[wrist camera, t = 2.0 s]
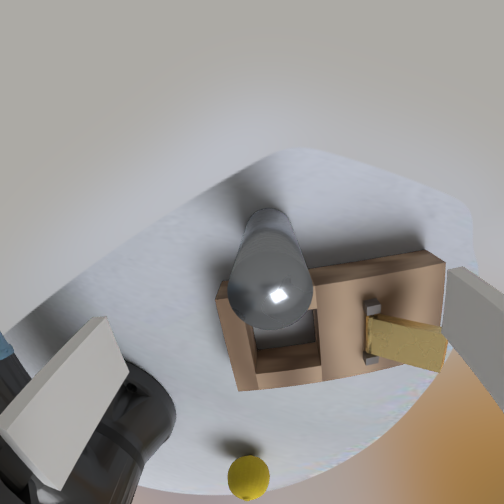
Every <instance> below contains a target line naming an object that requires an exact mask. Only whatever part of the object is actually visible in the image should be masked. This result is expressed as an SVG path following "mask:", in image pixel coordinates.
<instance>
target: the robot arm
mask: <svg viewBox="0 0 504 504" xmlns="http://www.w3.org/2000/svg"><path fill="white" fill-rule="evenodd" d="M441 333H442V334H443V335H444V337H445V338H446V339H447V340H448V341H449V343H450V344H451V345H452V346H453V347H454V349H455V350H456V351H457V352H458V353H459V355H460V356H461V357H462V358H463V360H464V361H465V362H466V363H467V365H468V366H469V367H470V368H471V370H472V371H473V372H474V373H475V375H476V376H477V377H478V379H479V380H480V381H481V383H482V384H483V385H484V387H485V388H486V389H487V391H488V392H489V393H490V395H491V396H492V397H493V399H494V400H495V401H496V403H497V404H498V406H499V407H500V408H501V410H502V411H503V413H504V294H503V293H501V292H499V291H498V290H497V289H495V288H494V287H493V286H491V285H490V284H488V283H487V282H485V281H484V280H483V279H481V278H480V277H478V276H477V275H475V274H474V273H472V272H471V271H469V270H468V269H466V268H465V267H458V268H453V269H449V270H448V272H447V286H446V297H445V306H444V315H443V322H442V329H441ZM175 421H176V410H175V407H174V404H173V402H172V400H171V398H170V396H169V395H168V394H167V392H166V391H165V390H164V389H163V387H162V386H161V385H160V384H159V383H158V382H157V381H156V380H155V379H153V378H152V377H151V376H150V375H148V374H147V373H146V372H144V371H143V370H141V369H140V368H138V367H136V366H134V365H132V364H130V363H128V362H126V361H124V358H123V356H122V354H121V351H120V349H119V347H118V344H117V342H116V339H115V337H114V334H113V332H112V329H111V327H110V324H109V321H108V319H107V316H105V317H92V318H91V319H90V320H89V321H88V322H87V323H86V324H85V325H84V326H83V327H82V328H81V329H80V330H79V331H78V332H77V333H76V334H75V335H74V336H73V337H72V338H71V339H70V340H69V341H68V342H67V343H66V344H65V345H64V346H63V347H62V348H61V349H60V350H59V351H58V352H57V353H56V354H55V355H54V356H53V357H52V358H51V359H50V360H49V361H48V363H47V364H46V365H45V366H44V367H43V368H42V369H41V370H40V371H39V372H38V373H37V374H36V375H35V376H34V377H33V379H31V377H30V376H29V374H28V373H27V372H26V370H25V369H24V367H23V366H22V364H21V363H20V361H19V360H18V358H17V357H16V355H15V353H14V349H13V347H12V346H11V345H10V344H8V343H7V341H6V340H5V338H4V336H3V335H2V333H1V332H0V504H131V503H132V500H133V497H134V494H135V491H136V488H137V485H138V482H139V479H140V476H141V474H142V471H143V468H144V465H145V463H146V462H147V461H148V460H149V459H150V458H151V456H152V455H153V454H154V453H155V452H156V451H157V450H158V449H159V447H160V446H161V445H162V444H163V443H164V442H165V441H166V440H167V439H168V438H169V437H170V435H171V433H172V430H173V427H174V424H175Z"/></svg>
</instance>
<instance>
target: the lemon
mask: <svg viewBox="0 0 504 504" xmlns="http://www.w3.org/2000/svg"><path fill="white" fill-rule="evenodd" d="M269 479H270V475H269V469H268V467H267V465H266V464H265V462H264V461H263V460H261V459H260V458H258V457H255V456H252V455H248V456H243V457H240V458H238V459H236V460H235V461H234V462H233V463H232V464H231V466H230V468H229V471H228V485H229V488H230V490H231V492H232V493H233V494H234V495H235V496H236V497H238V498H240V499H243V500H245V501H250V500H253V499H256V498H258V497H260V496H261V495H263V494H264V492H265V491H266V489H267V487H268V484H269Z"/></svg>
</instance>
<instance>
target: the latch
mask: <svg viewBox="0 0 504 504" xmlns="http://www.w3.org/2000/svg"><path fill="white" fill-rule="evenodd" d="M441 329H442V327H439V326H434V325H430V324H425V323H420V322H415V321H411V320H406V319H401V318H397V317H392V316H388V315H383V314H374V315H369V316H367V315H366V349H365V351H366V352H367V353H371V354H373V355H376V356H380V357H383V358H387V359H390V360H394V361H397V362H401V363H404V364H408V365H412V366H415V367H419V368H423V369H427V370H430V371H434V372H438V373H440V371H441V369H442V367H443V365H444V360H445V355H446V350H447V345H448V340H447V339H446V338H445V337H444V335H443V334H442V333H441Z"/></svg>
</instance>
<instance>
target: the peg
mask: <svg viewBox="0 0 504 504" xmlns="http://www.w3.org/2000/svg"><path fill="white" fill-rule="evenodd" d="M227 295H228V300H229V304H230V306H231V308H232V310H233V311H234V313H235V314H236V315H237V316H238V317H239V318H240V319H241V320H242V321H244V322H245V323H246V324H248V325H250V326H253V327H255V328H259V329H264V330H276V329H282V328H285V327H287V326H290V325H292V324H293V323H295V322H297V321H298V320H299V319H300V318H301V317H302V316H303V315H304V314H305V313H306V312H307V310H308V308H309V306H310V304H311V301H312V298H313V284H312V280H311V277H310V274H309V271H308V268H307V266H306V263H305V260H304V257H303V254H302V252H301V249H300V246H299V244H298V241H297V238H296V235H295V233H294V230H293V227H292V225H291V222H290V220H289V218H288V217H287V216H286V215H285V214H284V213H283V212H281V211H279V210H277V209H273V208H265V209H261V210H259V211H257V212H256V213H254V214H253V215H252V216H251V218H250V219H249V221H248V223H247V226H246V229H245V232H244V235H243V238H242V241H241V245H240V248H239V251H238V254H237V257H236V260H235V263H234V266H233V269H232V272H231V275H230V278H229V282H228V287H227Z"/></svg>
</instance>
